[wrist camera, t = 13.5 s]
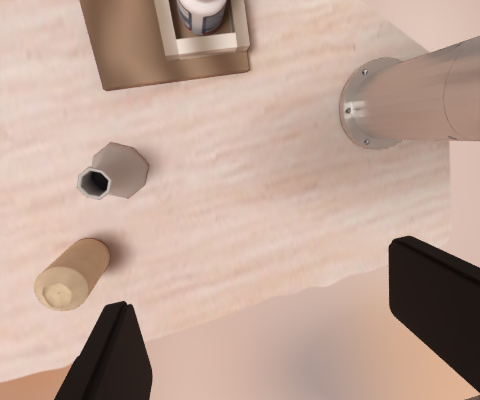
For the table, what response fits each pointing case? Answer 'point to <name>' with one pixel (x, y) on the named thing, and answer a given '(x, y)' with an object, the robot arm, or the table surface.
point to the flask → (113, 173)
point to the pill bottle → (201, 15)
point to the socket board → (161, 43)
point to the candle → (72, 275)
